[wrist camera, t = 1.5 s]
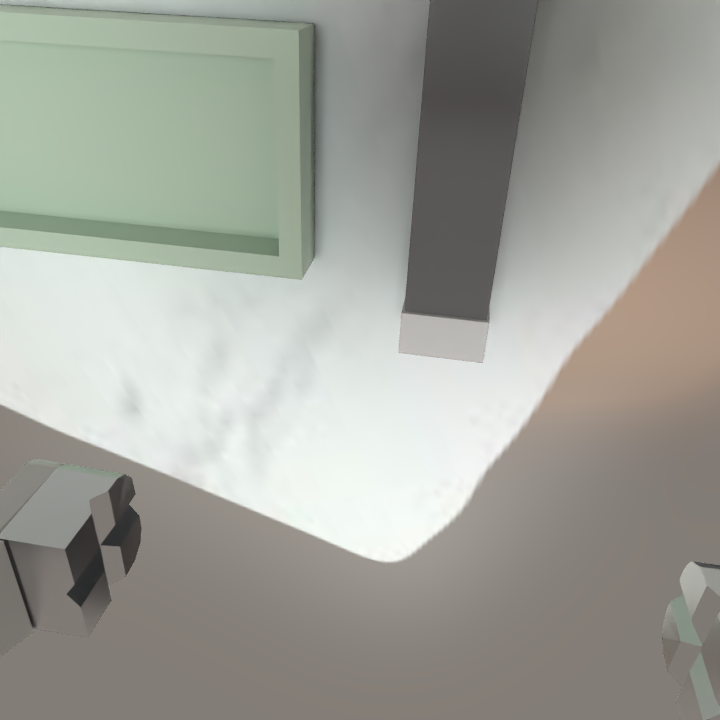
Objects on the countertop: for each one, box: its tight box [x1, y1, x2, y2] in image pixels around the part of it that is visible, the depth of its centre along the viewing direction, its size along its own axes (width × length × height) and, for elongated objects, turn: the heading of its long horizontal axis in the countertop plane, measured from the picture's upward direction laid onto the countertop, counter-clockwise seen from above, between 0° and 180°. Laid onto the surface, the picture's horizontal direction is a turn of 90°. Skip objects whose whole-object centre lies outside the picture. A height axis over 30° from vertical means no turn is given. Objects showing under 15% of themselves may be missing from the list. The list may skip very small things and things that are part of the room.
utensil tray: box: [0, 5, 314, 280], centre depth 29 cm, size 10×21×2 cm, turn 88°
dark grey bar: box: [399, 0, 538, 363], centre depth 27 cm, size 15×4×4 cm, turn 178°
